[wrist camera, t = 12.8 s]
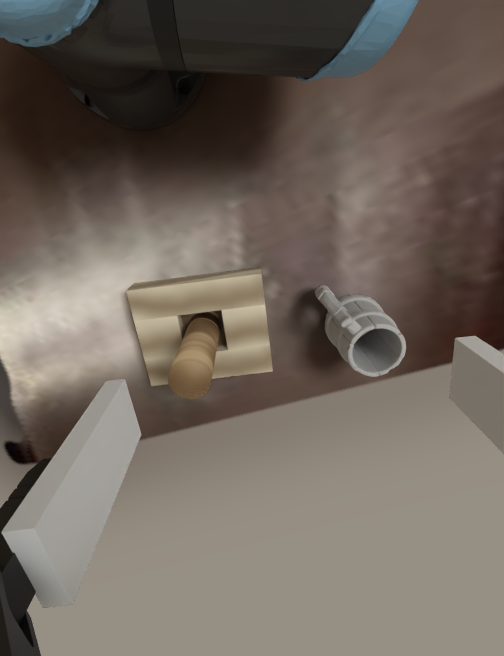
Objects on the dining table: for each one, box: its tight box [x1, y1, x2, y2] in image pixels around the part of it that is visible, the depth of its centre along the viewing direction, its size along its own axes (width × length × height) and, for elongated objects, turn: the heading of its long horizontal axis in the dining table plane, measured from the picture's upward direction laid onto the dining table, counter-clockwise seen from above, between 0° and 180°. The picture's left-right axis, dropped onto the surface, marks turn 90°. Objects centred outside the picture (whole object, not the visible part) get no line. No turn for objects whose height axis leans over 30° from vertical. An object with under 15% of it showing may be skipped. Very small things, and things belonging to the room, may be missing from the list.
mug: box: [315, 285, 406, 377], centre depth 41 cm, size 8×12×12 cm, turn 46°
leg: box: [168, 312, 220, 399], centre depth 39 cm, size 4×4×14 cm
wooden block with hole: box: [126, 267, 273, 386], centre depth 45 cm, size 13×16×4 cm
